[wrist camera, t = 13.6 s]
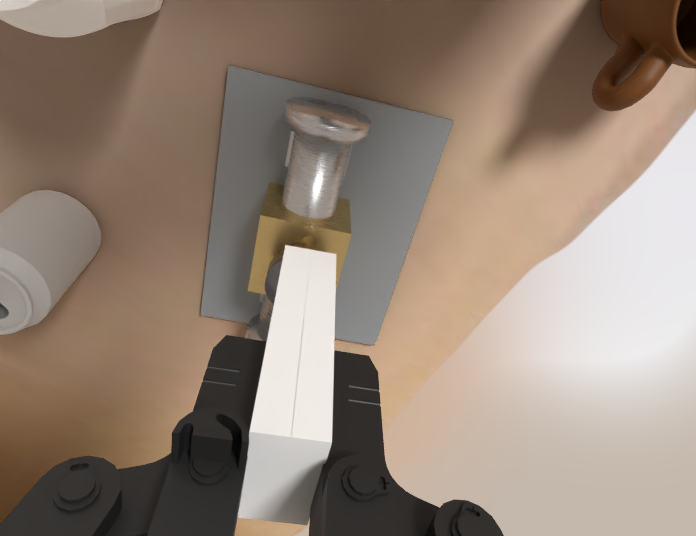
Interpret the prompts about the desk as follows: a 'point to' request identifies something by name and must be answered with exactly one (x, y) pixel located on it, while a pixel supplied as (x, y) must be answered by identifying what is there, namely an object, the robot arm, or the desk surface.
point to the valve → (307, 194)
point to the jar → (72, 14)
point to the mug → (643, 47)
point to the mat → (358, 186)
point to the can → (42, 254)
